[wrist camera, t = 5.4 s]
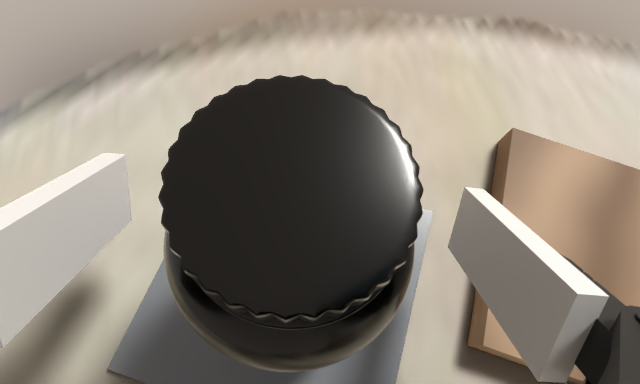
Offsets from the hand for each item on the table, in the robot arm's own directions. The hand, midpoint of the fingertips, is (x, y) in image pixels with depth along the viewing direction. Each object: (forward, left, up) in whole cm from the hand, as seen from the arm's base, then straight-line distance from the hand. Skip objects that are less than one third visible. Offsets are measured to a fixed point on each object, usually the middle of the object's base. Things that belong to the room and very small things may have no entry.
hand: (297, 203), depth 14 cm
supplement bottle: (-1, +2, -5) cm, 5 cm away
